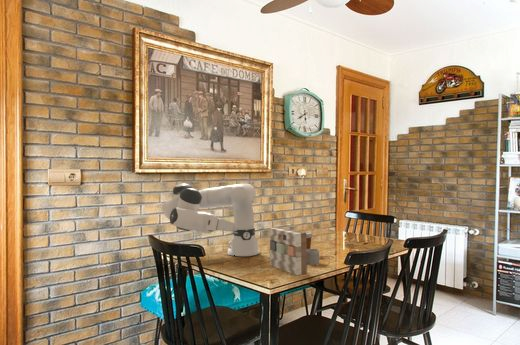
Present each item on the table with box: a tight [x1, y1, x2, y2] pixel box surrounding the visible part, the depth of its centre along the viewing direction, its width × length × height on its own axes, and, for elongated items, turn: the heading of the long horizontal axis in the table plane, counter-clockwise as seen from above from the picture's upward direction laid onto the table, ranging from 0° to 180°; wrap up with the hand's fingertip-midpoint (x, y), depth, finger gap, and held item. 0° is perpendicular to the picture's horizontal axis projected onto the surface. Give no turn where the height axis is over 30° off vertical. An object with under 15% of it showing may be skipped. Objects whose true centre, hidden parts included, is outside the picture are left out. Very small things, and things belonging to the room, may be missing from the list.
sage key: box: [276, 243, 286, 254], centre depth 182 cm, size 4×3×4 cm
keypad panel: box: [269, 227, 308, 276], centre depth 183 cm, size 22×6×18 cm, turn 30°
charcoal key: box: [269, 240, 277, 251], centre depth 189 cm, size 4×3×4 cm
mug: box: [307, 248, 320, 266], centre depth 194 cm, size 10×7×7 cm, turn 109°
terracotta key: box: [288, 245, 295, 256], centre depth 176 cm, size 4×3×4 cm
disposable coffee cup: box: [304, 231, 313, 249], centre depth 214 cm, size 10×10×12 cm
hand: (236, 229), depth 179 cm, fingers closed
